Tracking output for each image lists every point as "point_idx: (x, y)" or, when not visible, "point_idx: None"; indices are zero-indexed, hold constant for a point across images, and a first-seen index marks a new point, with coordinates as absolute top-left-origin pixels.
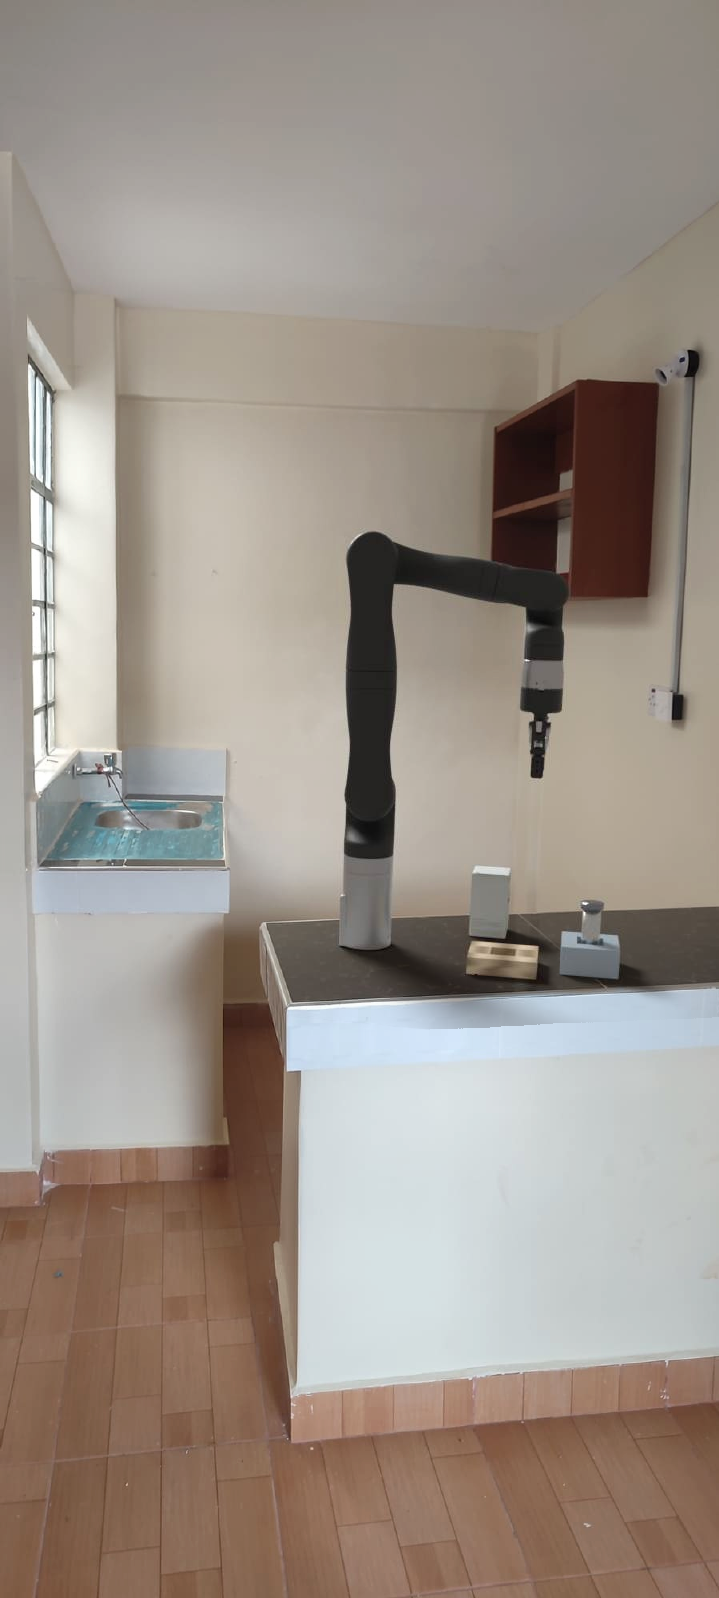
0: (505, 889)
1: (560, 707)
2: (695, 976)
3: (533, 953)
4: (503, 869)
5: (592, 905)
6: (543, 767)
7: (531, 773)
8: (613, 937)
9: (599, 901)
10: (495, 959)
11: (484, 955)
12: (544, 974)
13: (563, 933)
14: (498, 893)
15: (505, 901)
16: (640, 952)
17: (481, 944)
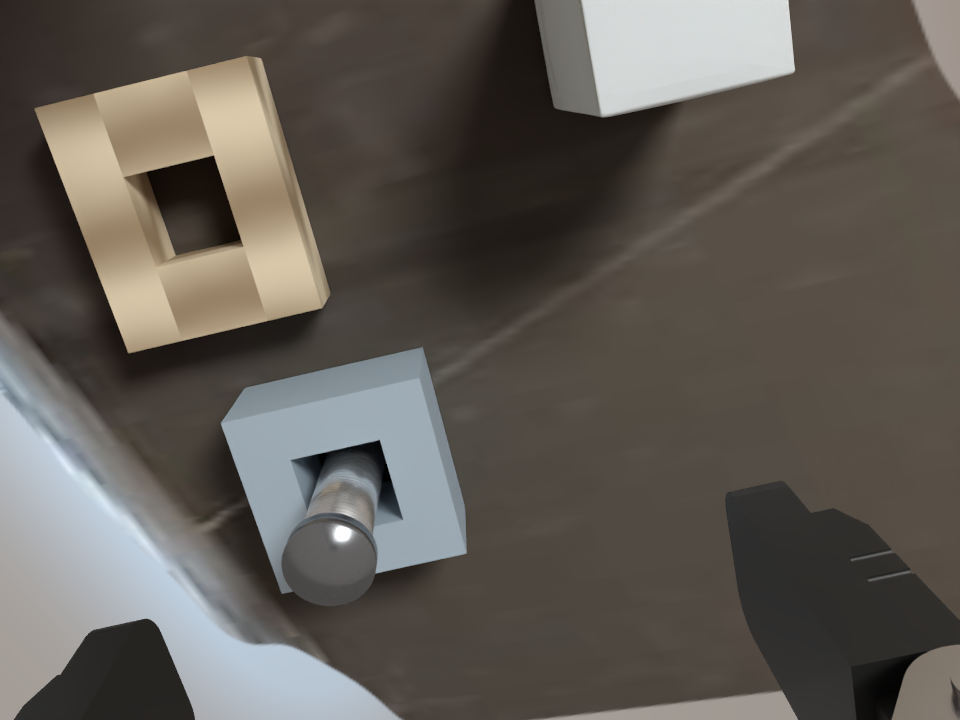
0: (584, 101)
1: None
2: (441, 707)
3: (225, 315)
4: (727, 47)
5: (284, 574)
6: (763, 650)
7: (82, 663)
8: (433, 546)
9: (362, 584)
10: (75, 214)
11: (95, 163)
12: (219, 345)
13: (392, 390)
14: (573, 68)
15: (575, 104)
16: (606, 548)
17: (223, 107)
